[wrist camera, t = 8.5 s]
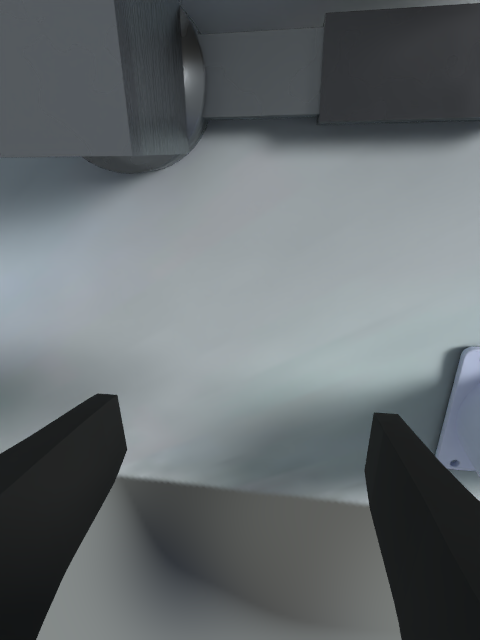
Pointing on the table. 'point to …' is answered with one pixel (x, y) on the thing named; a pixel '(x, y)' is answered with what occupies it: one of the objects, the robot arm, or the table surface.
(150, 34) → the grey brushed cube
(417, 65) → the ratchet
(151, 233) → the table surface
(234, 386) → the table surface
